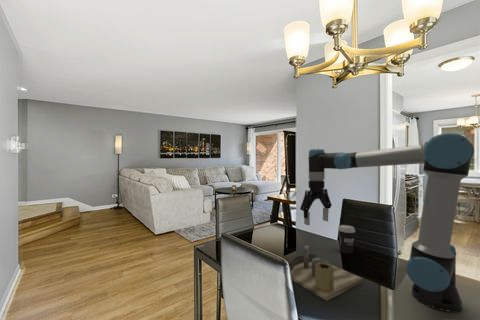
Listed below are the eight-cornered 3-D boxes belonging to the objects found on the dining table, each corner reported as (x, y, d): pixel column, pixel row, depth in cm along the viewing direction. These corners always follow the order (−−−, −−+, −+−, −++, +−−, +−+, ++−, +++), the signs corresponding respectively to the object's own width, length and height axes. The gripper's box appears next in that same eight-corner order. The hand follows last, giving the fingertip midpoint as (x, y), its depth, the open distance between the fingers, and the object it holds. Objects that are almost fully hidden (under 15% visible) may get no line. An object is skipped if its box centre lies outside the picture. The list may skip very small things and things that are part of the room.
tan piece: (336, 288, 96) (336, 267, 96) (325, 294, 92) (326, 271, 92) (322, 281, 102) (322, 261, 102) (311, 286, 98) (311, 265, 98)
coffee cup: (339, 254, 135) (339, 228, 135) (336, 248, 144) (336, 224, 144) (357, 255, 133) (357, 229, 133) (353, 249, 142) (353, 225, 142)
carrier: (362, 281, 105) (362, 255, 105) (326, 301, 90) (326, 270, 90) (313, 259, 128) (313, 237, 128) (278, 272, 113) (278, 247, 113)
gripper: (326, 178, 125) (326, 217, 125) (292, 180, 112) (292, 224, 112) (338, 179, 118) (338, 220, 118) (304, 182, 105) (304, 228, 105)
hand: (316, 222), depth 115 cm, fingers open, 13 cm apart
